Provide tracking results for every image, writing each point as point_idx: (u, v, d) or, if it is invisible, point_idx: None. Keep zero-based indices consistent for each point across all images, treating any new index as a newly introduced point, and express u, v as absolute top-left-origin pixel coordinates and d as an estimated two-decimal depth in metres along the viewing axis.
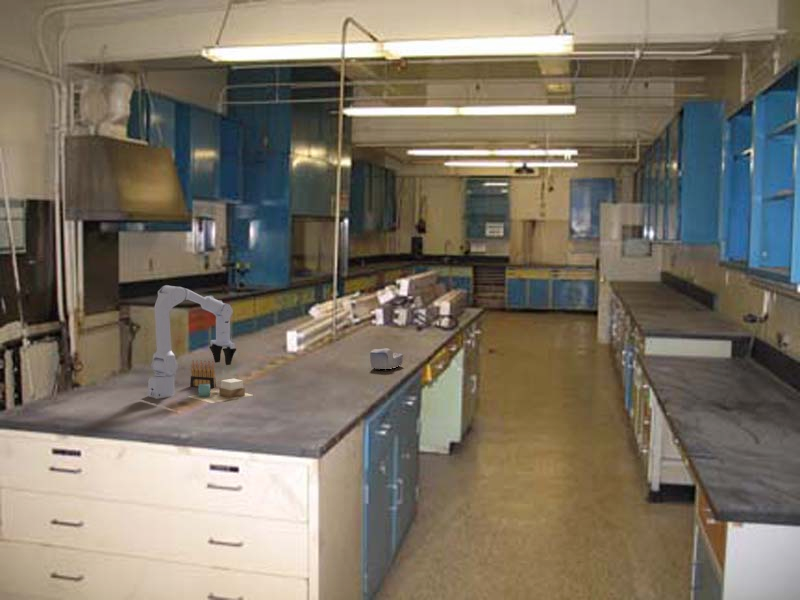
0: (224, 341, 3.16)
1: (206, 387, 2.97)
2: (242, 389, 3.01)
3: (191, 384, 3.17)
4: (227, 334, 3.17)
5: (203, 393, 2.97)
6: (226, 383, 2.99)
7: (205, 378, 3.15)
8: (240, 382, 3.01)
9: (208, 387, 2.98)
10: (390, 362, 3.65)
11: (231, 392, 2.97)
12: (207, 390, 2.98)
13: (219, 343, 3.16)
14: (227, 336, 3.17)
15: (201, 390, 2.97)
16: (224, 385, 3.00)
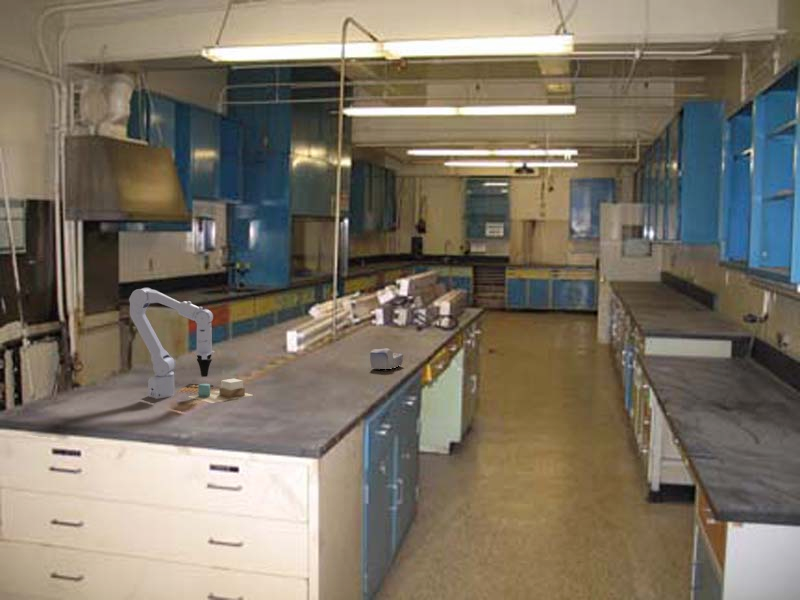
0: (201, 351, 2.95)
1: (206, 387, 2.97)
2: (242, 389, 3.01)
3: None
4: (205, 343, 2.95)
5: (203, 393, 2.97)
6: (226, 383, 2.99)
7: None
8: (240, 382, 3.01)
9: (208, 387, 2.98)
10: (390, 362, 3.64)
11: (231, 392, 2.97)
12: (207, 390, 2.98)
13: (197, 352, 2.96)
14: (205, 346, 2.95)
15: (201, 390, 2.97)
16: (224, 385, 3.00)
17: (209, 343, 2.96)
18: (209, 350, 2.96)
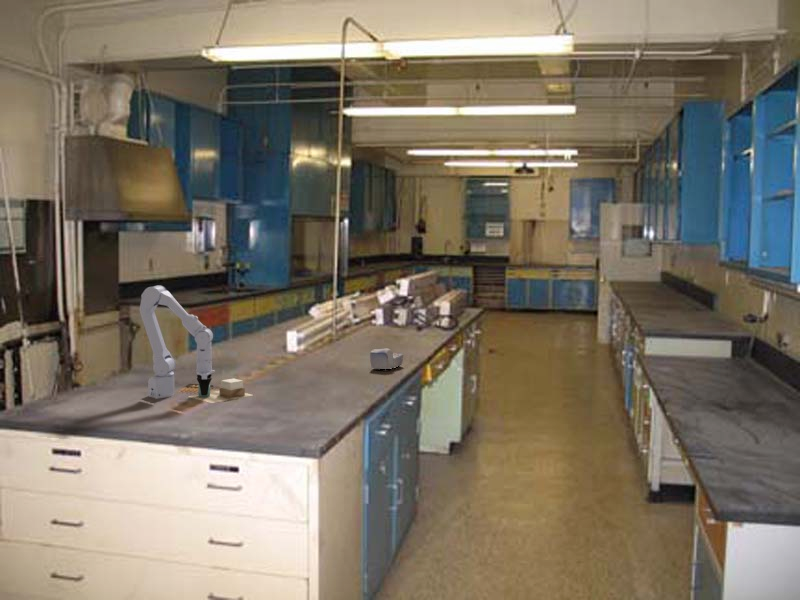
0: (201, 370, 2.96)
1: None
2: (242, 389, 3.01)
3: None
4: (205, 363, 2.96)
5: None
6: (226, 383, 2.99)
7: None
8: (240, 382, 3.01)
9: None
10: (390, 362, 3.64)
11: (231, 392, 2.97)
12: None
13: (197, 372, 2.97)
14: (205, 365, 2.96)
15: None
16: (224, 385, 3.00)
17: (209, 362, 2.97)
18: (209, 369, 2.97)
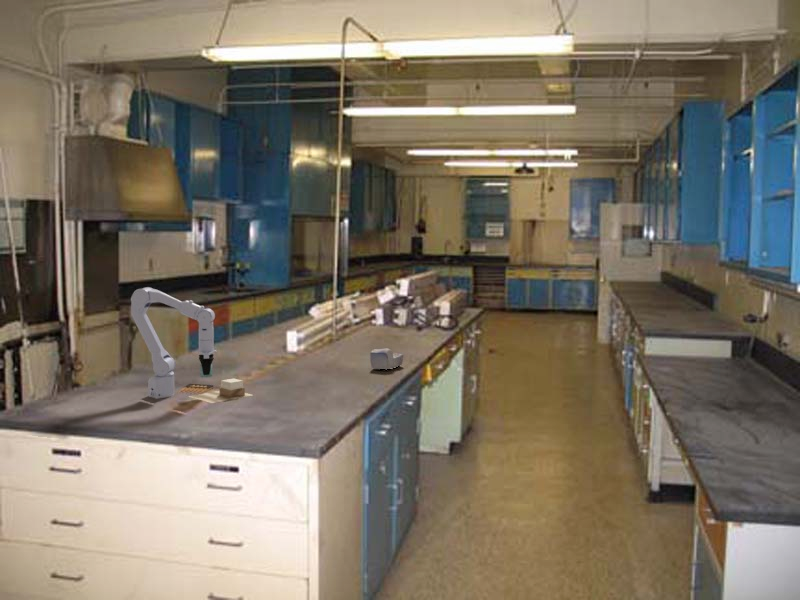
0: (203, 350, 2.95)
1: None
2: (242, 389, 3.01)
3: None
4: (207, 342, 2.95)
5: None
6: (226, 383, 2.99)
7: None
8: (240, 382, 3.01)
9: None
10: (390, 362, 3.64)
11: (231, 392, 2.97)
12: None
13: (199, 351, 2.96)
14: (207, 345, 2.95)
15: None
16: (224, 385, 3.00)
17: (211, 342, 2.96)
18: (211, 349, 2.96)
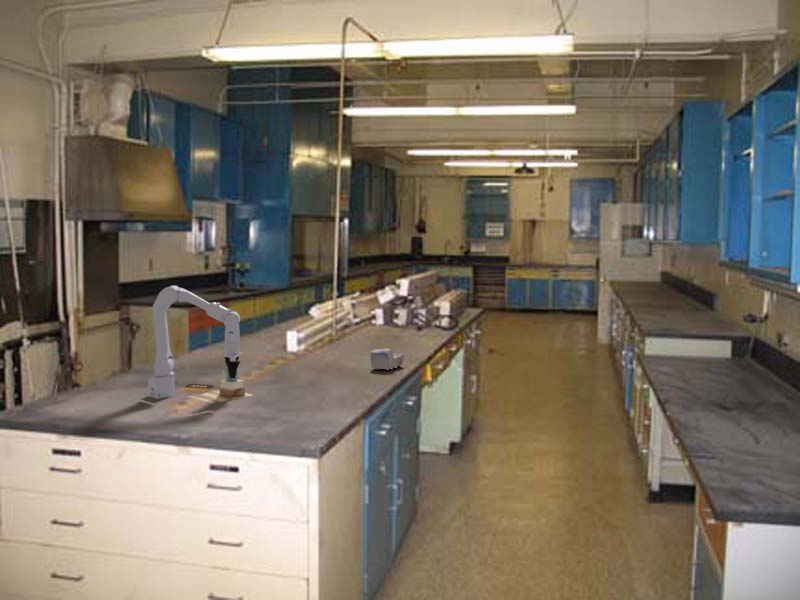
0: (229, 353, 2.97)
1: None
2: (242, 389, 3.01)
3: None
4: (233, 345, 2.97)
5: None
6: (226, 383, 2.99)
7: None
8: (240, 382, 3.01)
9: None
10: (391, 362, 3.64)
11: (231, 392, 2.97)
12: None
13: (225, 354, 2.98)
14: (233, 347, 2.97)
15: None
16: (224, 385, 3.00)
17: (237, 345, 2.98)
18: (237, 352, 2.99)
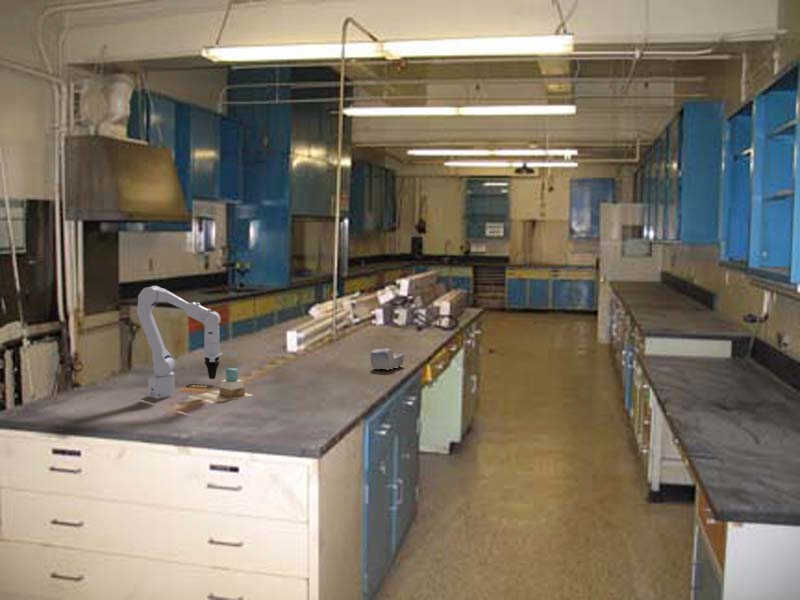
0: (209, 353, 2.95)
1: (234, 371, 2.99)
2: (242, 389, 3.01)
3: None
4: (212, 346, 2.95)
5: (231, 377, 2.99)
6: (226, 383, 2.99)
7: None
8: (240, 382, 3.01)
9: (236, 371, 3.00)
10: (391, 362, 3.64)
11: (231, 392, 2.97)
12: (235, 374, 2.99)
13: (205, 355, 2.96)
14: (212, 348, 2.95)
15: (229, 374, 2.99)
16: (224, 385, 3.00)
17: (217, 345, 2.97)
18: (217, 352, 2.97)
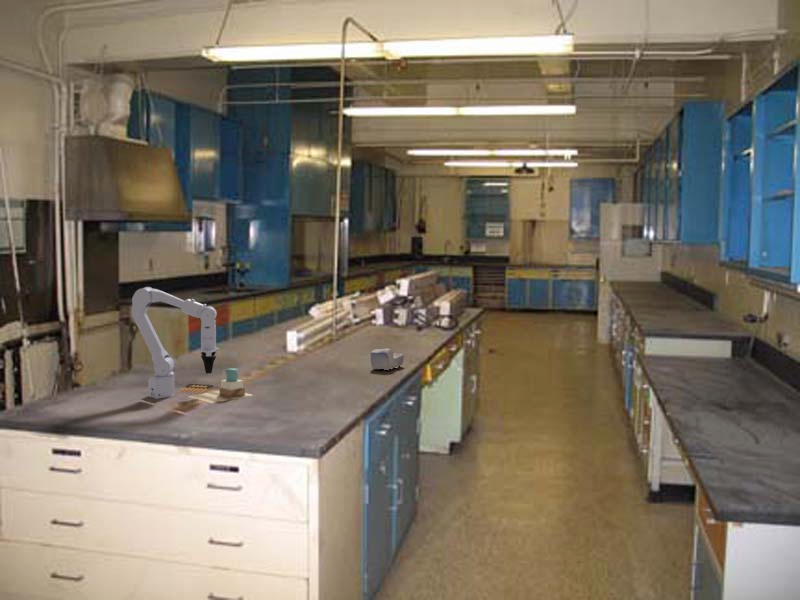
0: (205, 348, 2.96)
1: (234, 371, 2.99)
2: (242, 389, 3.01)
3: None
4: (209, 340, 2.96)
5: (231, 377, 2.99)
6: (226, 383, 2.99)
7: None
8: (240, 382, 3.01)
9: (236, 371, 3.00)
10: (391, 362, 3.64)
11: (231, 392, 2.97)
12: (235, 374, 2.99)
13: (201, 349, 2.97)
14: (209, 342, 2.96)
15: (229, 374, 2.99)
16: (224, 385, 3.00)
17: (213, 340, 2.98)
18: (213, 347, 2.98)
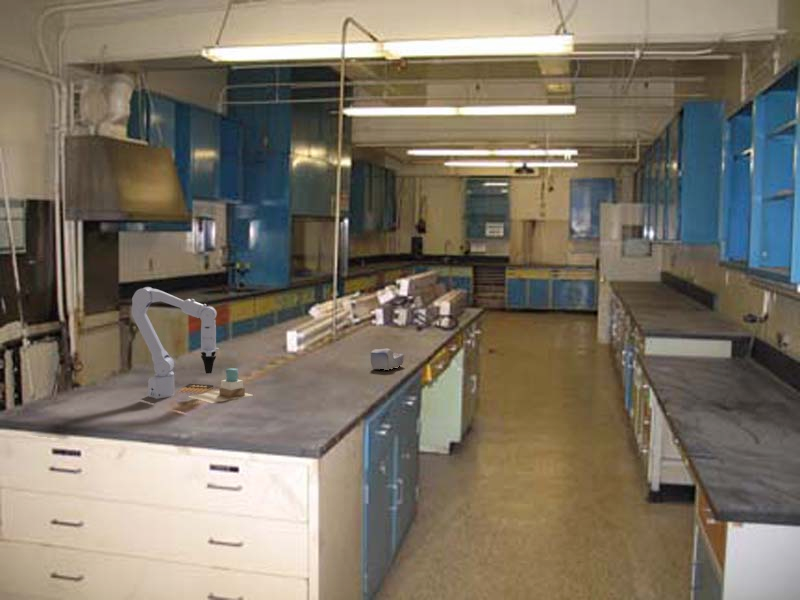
0: (205, 348, 2.96)
1: (234, 371, 2.99)
2: (242, 389, 3.01)
3: None
4: (209, 340, 2.96)
5: (231, 377, 2.99)
6: (226, 383, 2.99)
7: None
8: (240, 382, 3.01)
9: (236, 371, 3.00)
10: (391, 362, 3.64)
11: (231, 392, 2.97)
12: (235, 374, 2.99)
13: (201, 349, 2.97)
14: (209, 342, 2.96)
15: (229, 374, 2.99)
16: (224, 385, 3.00)
17: (213, 340, 2.98)
18: (213, 347, 2.98)
